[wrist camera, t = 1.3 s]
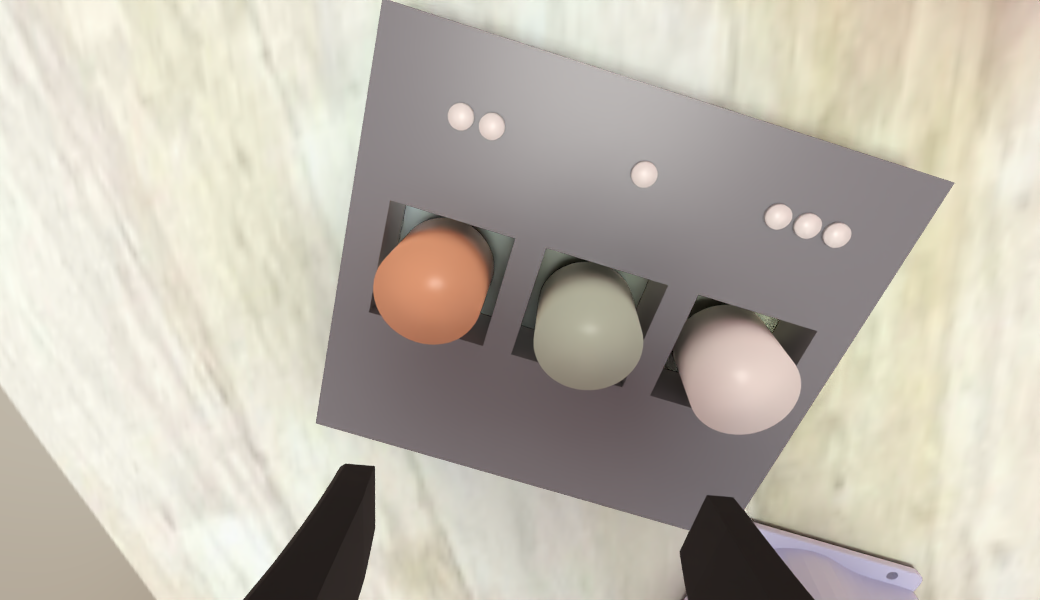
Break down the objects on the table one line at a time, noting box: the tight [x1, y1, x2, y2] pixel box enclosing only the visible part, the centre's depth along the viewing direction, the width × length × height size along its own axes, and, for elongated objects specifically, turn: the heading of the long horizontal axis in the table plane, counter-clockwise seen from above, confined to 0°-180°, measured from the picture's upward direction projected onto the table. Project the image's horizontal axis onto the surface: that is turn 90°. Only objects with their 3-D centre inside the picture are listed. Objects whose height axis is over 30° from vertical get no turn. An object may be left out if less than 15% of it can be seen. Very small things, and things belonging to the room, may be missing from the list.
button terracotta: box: [373, 218, 494, 345], centre depth 19 cm, size 4×4×3 cm
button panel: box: [316, 0, 954, 530], centre depth 20 cm, size 18×16×3 cm
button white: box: [673, 305, 801, 435], centre depth 19 cm, size 4×4×3 cm
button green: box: [534, 262, 643, 390], centre depth 19 cm, size 4×4×3 cm
